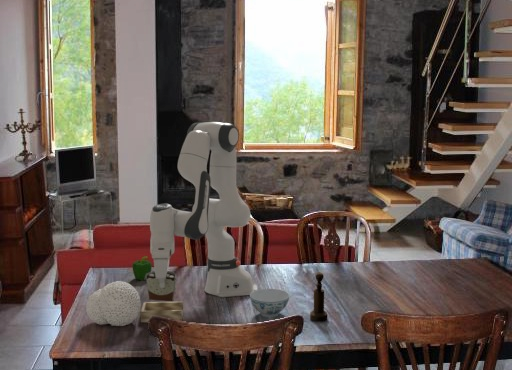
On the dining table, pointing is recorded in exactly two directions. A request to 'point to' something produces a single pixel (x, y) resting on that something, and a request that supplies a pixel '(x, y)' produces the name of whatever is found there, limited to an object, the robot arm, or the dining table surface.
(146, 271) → the bell pepper
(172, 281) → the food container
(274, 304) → the chinaware
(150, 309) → the wooden tray
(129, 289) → the white bumpy round lump
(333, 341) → the dining table surface
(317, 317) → the pepper mill
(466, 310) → the dining table surface
